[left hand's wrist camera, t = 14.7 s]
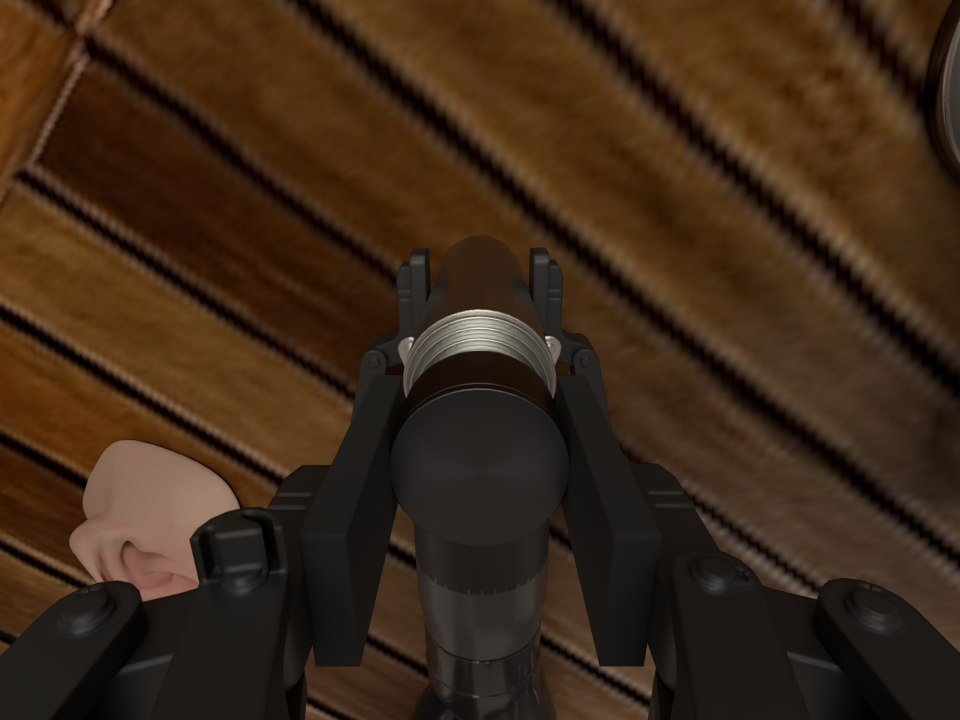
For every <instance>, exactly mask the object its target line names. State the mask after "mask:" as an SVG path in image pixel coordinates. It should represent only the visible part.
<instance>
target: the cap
mask: <svg viewBox="0 0 960 720" xmlns="http://www.w3.org/2000/svg"><path fill="white" fill-rule="evenodd" d="M569 466H570V454H569V449H568V445H567V442H566V439H565V436H564V432H563V429H562V426H561V422H560V419H559V416H558V412H557V409H556V406H555V403H554V400H553V397H552V394H551V392H550V390H549V388H548V387H547V385H546V384H545V382H544V381H543V380H542V378H541V377H540V376H539V375H538V374H537V373H536V372H535V371H534V370H533V369H531V368H530V367H529V366H528V365H526V364H525V363H523V362H521V361H520V360H518V359H515V358H513V357H511V356H508V355H505V354H502V353H498V352H492V351H467V352H462V353H457V354H454V355H451V356H448V357H446V358H444V359H442V360H440V361H438V362H436V363H435V364H433V365H432V366H430V367H429V368H428V369H427V370H426V371H424V372H423V373H422V374H421V375H420V377H419V378H418V379H417V380H416V381H415V383H414V384H413V386H412V387H411V389H410V391H409V393H408V395H407V398H406V401H405V404H404V407H403V411H402V414H401V417H400V420H399V424H398V427H397V430H396V434H395V437H394V440H393V444H392V447H391V450H390V471H391V485H392V489H393V492H394V495H395V497H396V499H397V501H398V503H399V504H400V506H401V507H402V509H403V510H404V511H405V513H406V514H407V515H408V516H409V517H410V518H411V519H412V520H413V521H414V522H415V523H416V524H418V525H419V526H420V527H421V528H423V529H424V530H426V531H427V532H429V533H431V534H433V535H435V536H437V537H439V538H442V539H444V540H447V541H450V542H454V543H458V544H464V545H472V546H486V545H496V544H501V543H506V542H509V541H512V540H515V539H518V538H520V537H522V536H525V535H527V534H528V533H530V532H532V531H534V530H535V529H536V528H538V527H539V526H541V525H542V524H543V523H544V522H545V521H546V520H547V519H548V518H549V517H551V515H552V514H553V513H554V512H555V510H556V509H557V508H558V506H559V505H560V503H561V501H562V500H563V497H564V495H565V493H566V491H567V487H568V481H569Z"/></svg>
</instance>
